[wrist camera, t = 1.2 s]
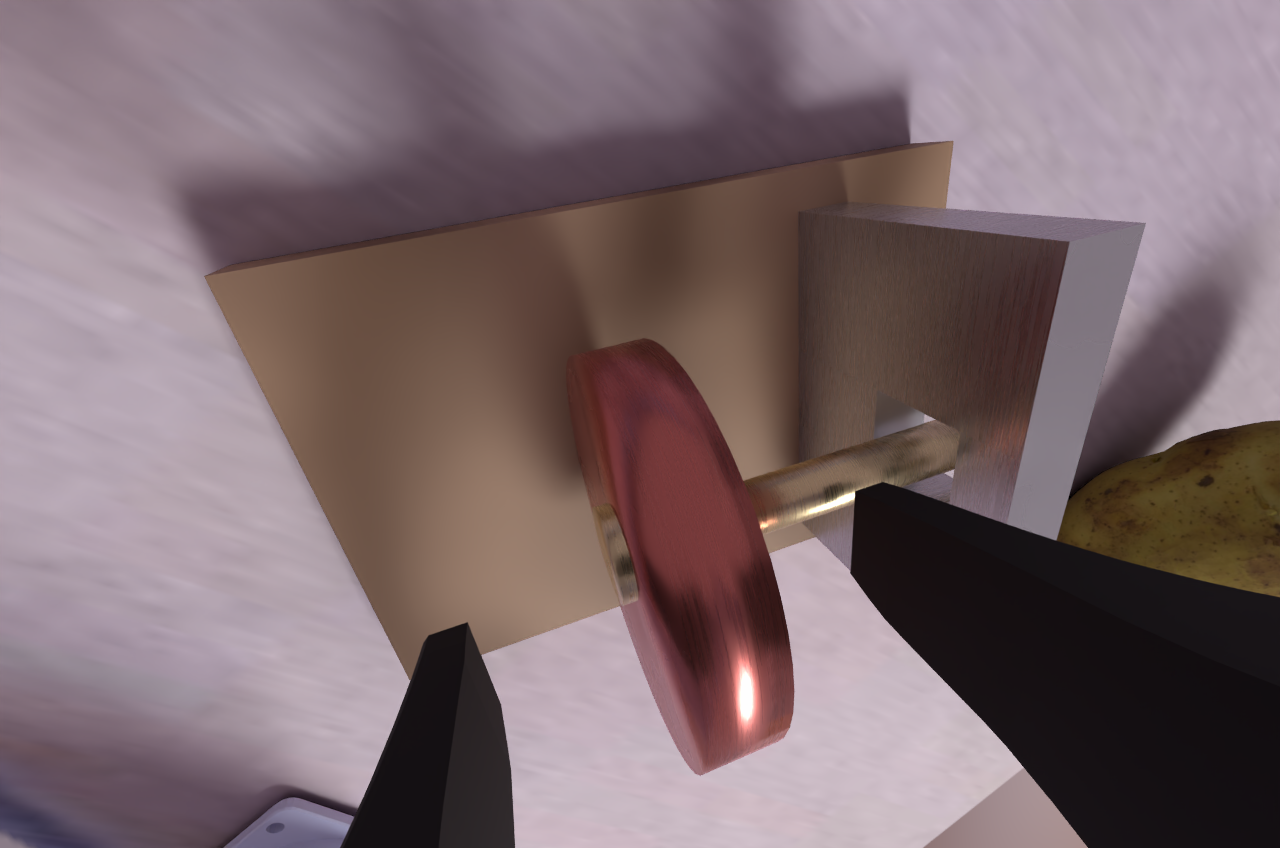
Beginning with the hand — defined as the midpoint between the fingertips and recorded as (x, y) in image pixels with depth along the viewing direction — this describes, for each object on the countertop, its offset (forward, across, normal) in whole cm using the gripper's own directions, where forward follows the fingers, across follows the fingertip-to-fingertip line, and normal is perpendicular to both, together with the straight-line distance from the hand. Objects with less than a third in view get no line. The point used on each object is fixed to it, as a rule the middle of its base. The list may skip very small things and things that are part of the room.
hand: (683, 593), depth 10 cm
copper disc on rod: (+6, -4, 0) cm, 7 cm away
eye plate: (+6, -7, 0) cm, 9 cm away
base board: (+8, -2, 0) cm, 8 cm away
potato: (+8, -24, +11) cm, 28 cm away
